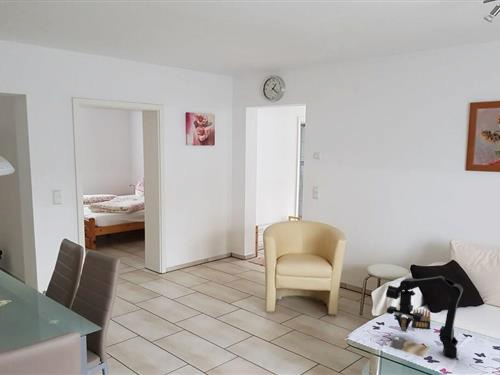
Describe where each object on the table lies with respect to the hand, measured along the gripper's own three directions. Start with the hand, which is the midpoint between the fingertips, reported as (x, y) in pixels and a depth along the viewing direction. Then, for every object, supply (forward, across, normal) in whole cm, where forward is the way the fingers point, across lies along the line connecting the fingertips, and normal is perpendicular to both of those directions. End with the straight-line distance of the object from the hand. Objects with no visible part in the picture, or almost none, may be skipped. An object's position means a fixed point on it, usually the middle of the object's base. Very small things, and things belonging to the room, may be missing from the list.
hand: (403, 328), depth 232 cm
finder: (+8, 0, +8) cm, 11 cm away
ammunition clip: (+9, -2, -29) cm, 31 cm away
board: (+9, -5, +4) cm, 11 cm away
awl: (+1, 0, 0) cm, 1 cm away
